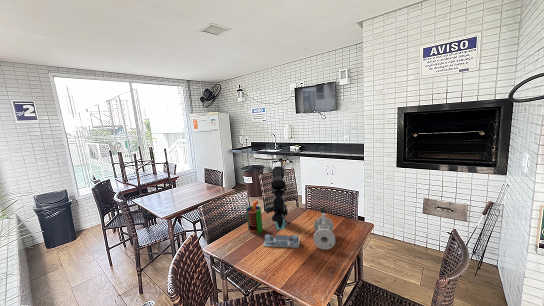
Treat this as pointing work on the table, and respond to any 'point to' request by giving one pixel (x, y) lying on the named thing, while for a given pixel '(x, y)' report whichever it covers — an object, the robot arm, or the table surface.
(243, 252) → the table surface
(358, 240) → the table surface
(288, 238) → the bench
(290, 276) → the table surface
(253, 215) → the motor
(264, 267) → the table surface
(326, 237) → the valve
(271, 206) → the robot arm
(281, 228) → the coupler
